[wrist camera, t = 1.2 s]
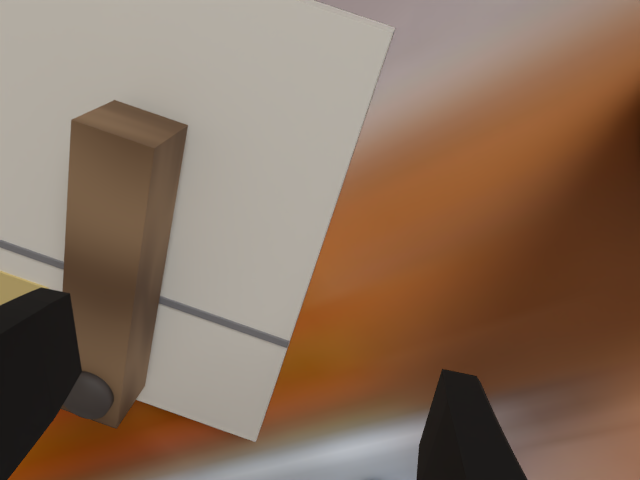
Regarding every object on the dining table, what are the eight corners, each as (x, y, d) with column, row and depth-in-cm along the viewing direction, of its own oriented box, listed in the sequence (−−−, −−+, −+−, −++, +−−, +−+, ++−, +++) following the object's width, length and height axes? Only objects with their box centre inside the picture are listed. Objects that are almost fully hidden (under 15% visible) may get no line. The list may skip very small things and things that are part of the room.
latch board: (262, 421, 25) (254, 443, 24) (-96, 294, 26) (-121, 310, 24) (395, 27, 16) (393, 33, 15) (-157, -158, 17) (-201, -166, 16)
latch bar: (144, 386, 23) (111, 436, 21) (90, 366, 23) (50, 415, 21) (187, 125, 17) (147, 153, 15) (114, 99, 17) (62, 123, 15)
